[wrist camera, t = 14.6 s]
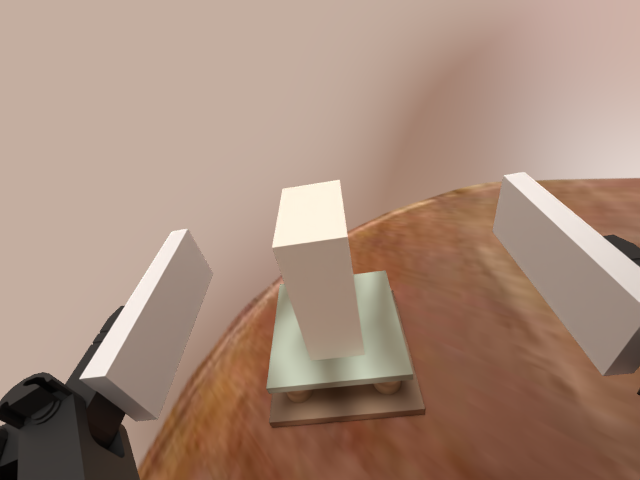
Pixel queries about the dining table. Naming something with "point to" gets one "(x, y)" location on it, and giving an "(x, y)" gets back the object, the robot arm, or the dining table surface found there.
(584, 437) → the dining table surface
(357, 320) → the cream rectangular block
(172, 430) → the dining table surface
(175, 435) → the dining table surface
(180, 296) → the robot arm
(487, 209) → the dining table surface
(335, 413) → the peg shelf
